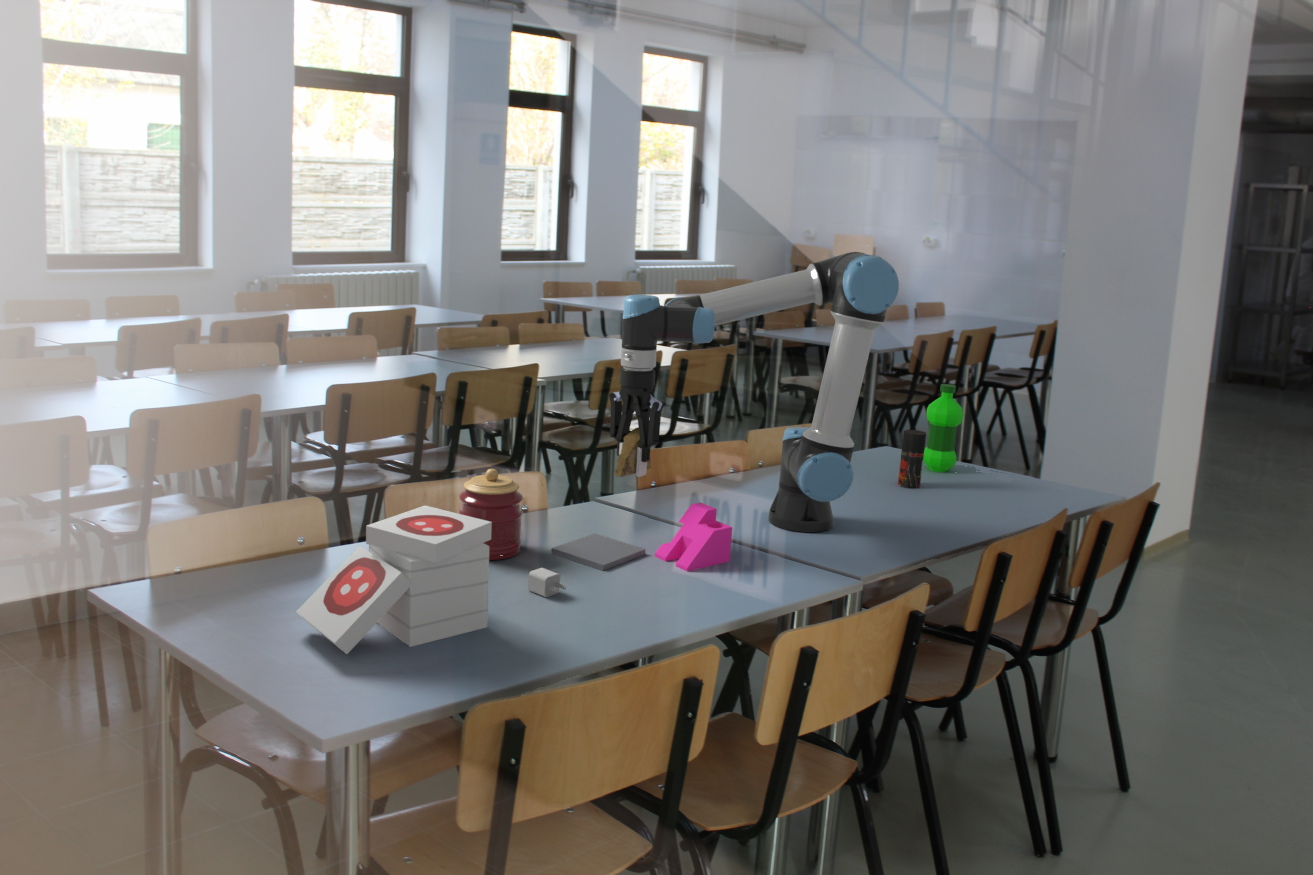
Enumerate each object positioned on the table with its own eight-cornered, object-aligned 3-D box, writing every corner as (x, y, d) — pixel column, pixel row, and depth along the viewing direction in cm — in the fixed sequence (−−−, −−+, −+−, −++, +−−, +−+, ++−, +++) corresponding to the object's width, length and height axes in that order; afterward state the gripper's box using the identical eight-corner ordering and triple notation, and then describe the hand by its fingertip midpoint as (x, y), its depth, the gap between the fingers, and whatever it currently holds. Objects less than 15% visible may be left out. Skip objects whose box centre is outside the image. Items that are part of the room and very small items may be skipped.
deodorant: (921, 489, 295) (928, 435, 291) (900, 487, 295) (906, 434, 292) (917, 483, 301) (923, 430, 297) (895, 481, 301) (901, 429, 297)
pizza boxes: (291, 629, 183) (289, 527, 179) (448, 594, 202) (450, 501, 198) (341, 671, 169) (340, 561, 165) (505, 629, 188) (508, 530, 184)
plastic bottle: (921, 472, 313) (931, 387, 307) (919, 463, 323) (929, 380, 317) (957, 475, 311) (968, 390, 306) (953, 467, 321) (964, 383, 316)
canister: (445, 548, 226) (446, 466, 222) (494, 536, 235) (496, 457, 231) (484, 565, 217) (486, 481, 213) (533, 552, 227) (536, 471, 223)
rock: (620, 469, 229) (662, 454, 233) (603, 436, 233) (645, 423, 236) (613, 493, 238) (653, 479, 242) (597, 462, 242) (637, 448, 246)
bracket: (697, 547, 237) (700, 502, 234) (729, 561, 229) (733, 515, 227) (654, 557, 229) (657, 510, 227) (686, 572, 222) (690, 523, 219)
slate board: (645, 554, 230) (645, 549, 230) (603, 570, 219) (603, 564, 219) (594, 538, 238) (594, 533, 238) (551, 553, 227) (551, 547, 227)
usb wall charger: (543, 586, 209) (544, 566, 208) (569, 596, 205) (570, 576, 204) (528, 591, 206) (528, 571, 205) (554, 602, 201) (554, 581, 201)
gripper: (595, 363, 234) (590, 468, 240) (659, 375, 224) (653, 484, 230) (617, 360, 240) (612, 462, 246) (680, 372, 230) (674, 478, 236)
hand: (632, 472), depth 238 cm, fingers closed on rock, 4 cm apart
